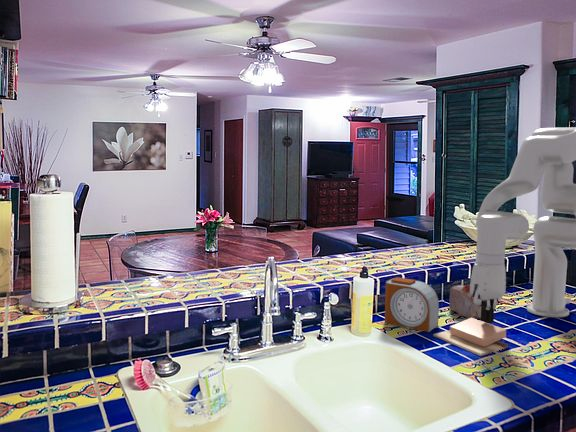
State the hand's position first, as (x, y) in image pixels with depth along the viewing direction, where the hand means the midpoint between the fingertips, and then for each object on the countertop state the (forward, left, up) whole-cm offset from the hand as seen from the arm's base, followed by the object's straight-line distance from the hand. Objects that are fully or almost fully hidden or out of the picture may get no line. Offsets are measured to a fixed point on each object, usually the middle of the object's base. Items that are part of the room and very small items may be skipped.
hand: (486, 321), depth 155 cm
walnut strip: (+2, 0, -5) cm, 5 cm away
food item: (-12, -17, -5) cm, 21 cm away
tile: (-1, 0, -2) cm, 2 cm away
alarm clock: (+11, -20, -5) cm, 23 cm away
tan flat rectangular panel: (+8, 0, -5) cm, 9 cm away
